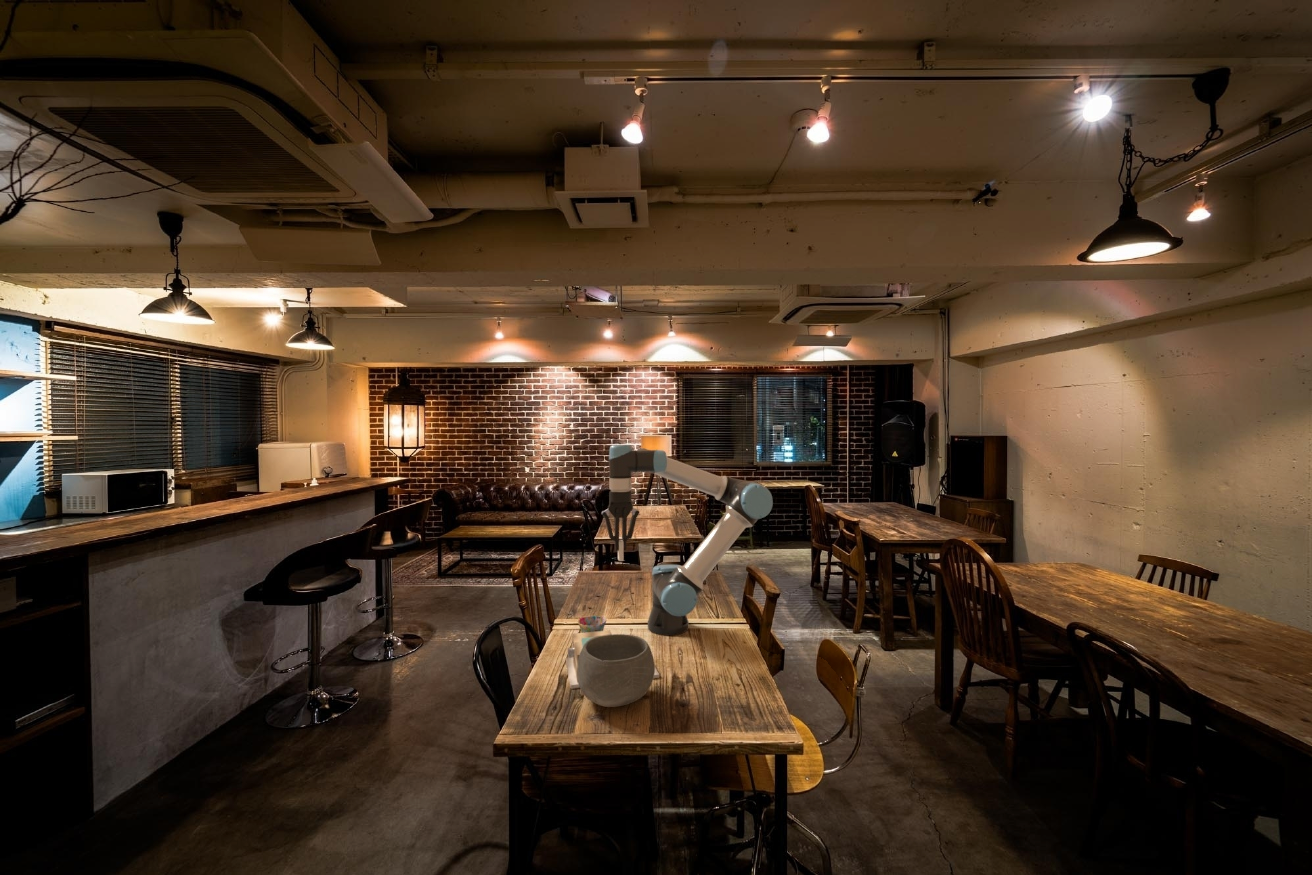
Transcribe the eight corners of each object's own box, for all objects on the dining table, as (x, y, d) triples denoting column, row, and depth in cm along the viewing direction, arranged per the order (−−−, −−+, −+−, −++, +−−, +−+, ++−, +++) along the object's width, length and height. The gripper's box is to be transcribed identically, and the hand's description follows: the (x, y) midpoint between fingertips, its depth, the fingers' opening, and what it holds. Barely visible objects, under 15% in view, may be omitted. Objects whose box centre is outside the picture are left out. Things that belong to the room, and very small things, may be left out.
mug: (602, 659, 166) (602, 626, 166) (574, 657, 167) (574, 624, 167) (611, 644, 178) (611, 613, 177) (585, 642, 179) (585, 612, 179)
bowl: (662, 686, 149) (662, 633, 149) (644, 726, 128) (643, 666, 128) (592, 678, 154) (592, 627, 153) (564, 716, 133) (564, 658, 133)
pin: (615, 651, 165) (615, 637, 165) (618, 657, 160) (618, 643, 160) (567, 657, 161) (567, 642, 161) (568, 663, 157) (568, 648, 157)
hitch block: (645, 652, 171) (645, 625, 171) (659, 677, 154) (659, 647, 154) (565, 661, 165) (565, 633, 165) (570, 688, 147) (570, 657, 147)
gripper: (636, 488, 181) (637, 556, 181) (599, 489, 177) (599, 558, 178) (641, 491, 173) (641, 561, 174) (602, 492, 170) (603, 563, 170)
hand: (620, 559), depth 176 cm, fingers closed
